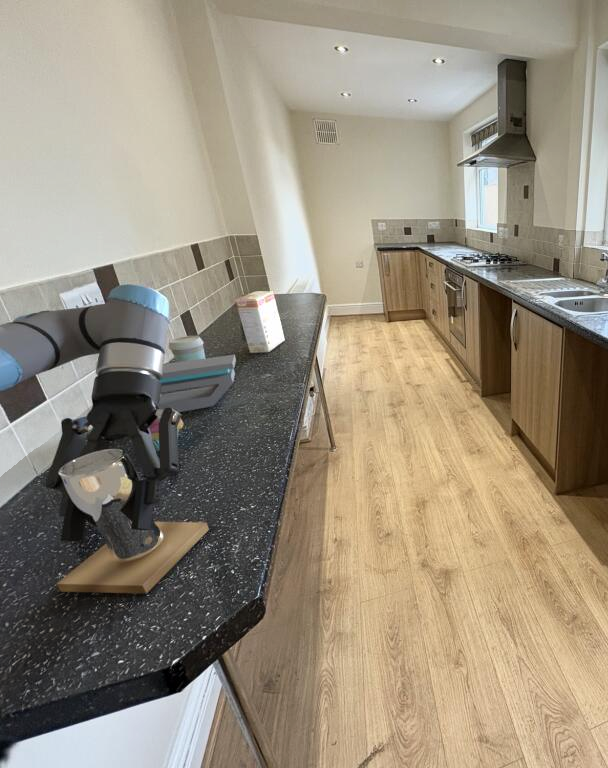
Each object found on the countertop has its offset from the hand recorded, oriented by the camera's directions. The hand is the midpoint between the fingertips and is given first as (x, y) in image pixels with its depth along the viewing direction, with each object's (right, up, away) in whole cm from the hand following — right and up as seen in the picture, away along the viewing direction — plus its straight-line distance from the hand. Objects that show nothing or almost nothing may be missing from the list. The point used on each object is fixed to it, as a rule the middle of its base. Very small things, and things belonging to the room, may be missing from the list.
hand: (107, 534), depth 55 cm
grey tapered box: (-31, +15, +54) cm, 64 cm away
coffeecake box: (-38, +34, +100) cm, 112 cm away
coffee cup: (-44, +23, +73) cm, 88 cm away
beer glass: (-1, -4, +5) cm, 7 cm away
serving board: (-1, -6, +6) cm, 8 cm away
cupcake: (-22, +7, +35) cm, 42 cm away
